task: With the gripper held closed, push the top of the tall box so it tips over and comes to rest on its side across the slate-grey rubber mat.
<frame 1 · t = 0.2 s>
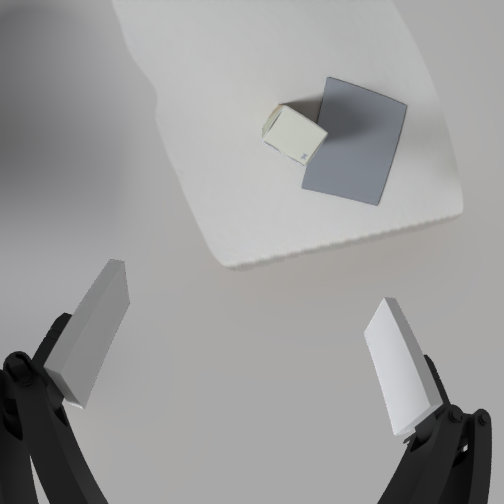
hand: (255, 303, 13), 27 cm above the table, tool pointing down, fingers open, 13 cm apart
box: (285, 125, 34), on the table
mat: (355, 143, 34), on the table
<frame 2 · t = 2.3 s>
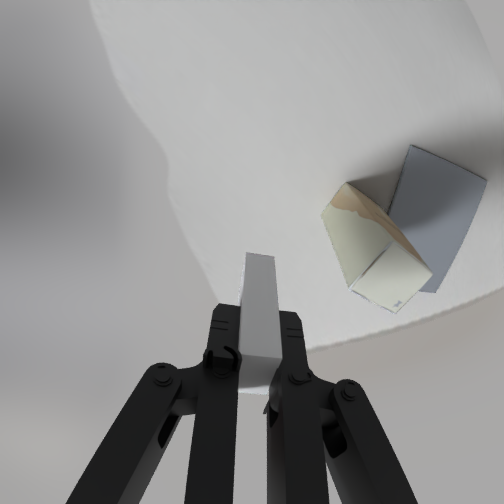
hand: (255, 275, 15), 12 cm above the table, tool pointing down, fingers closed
box: (350, 210, 26), on the table
mat: (428, 230, 26), on the table
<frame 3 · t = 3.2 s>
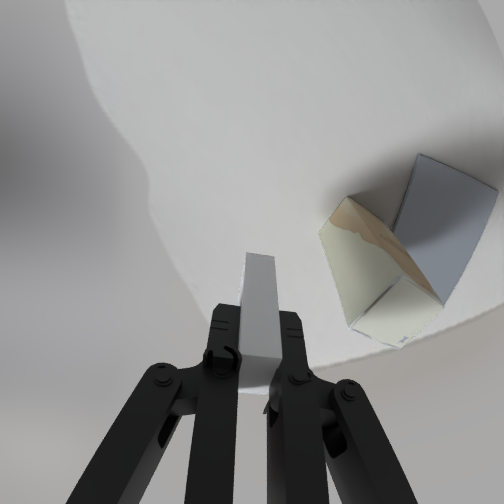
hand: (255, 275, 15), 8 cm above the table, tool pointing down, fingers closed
box: (351, 227, 23), on the table
mat: (435, 246, 24), on the table
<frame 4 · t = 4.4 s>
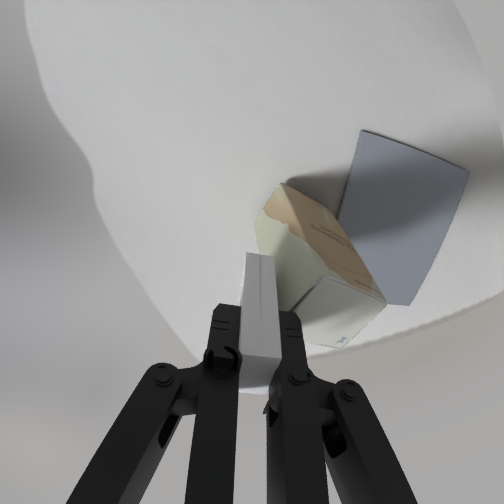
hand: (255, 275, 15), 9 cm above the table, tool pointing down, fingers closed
box: (290, 214, 22), on the table, touching gripper
mat: (394, 233, 23), on the table
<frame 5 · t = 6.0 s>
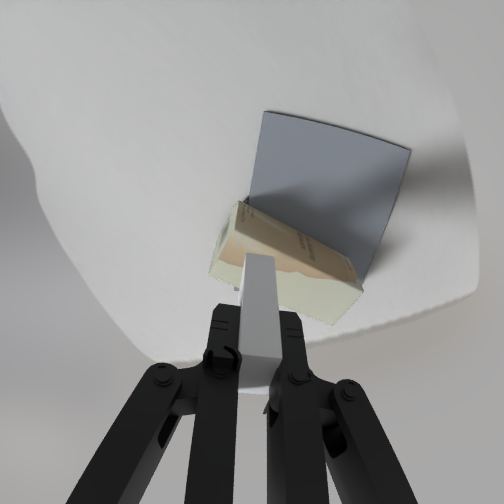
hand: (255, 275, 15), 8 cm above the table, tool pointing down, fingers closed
box: (220, 235, 20), point 3 cm above the table, touching mat
mat: (318, 222, 23), on the table
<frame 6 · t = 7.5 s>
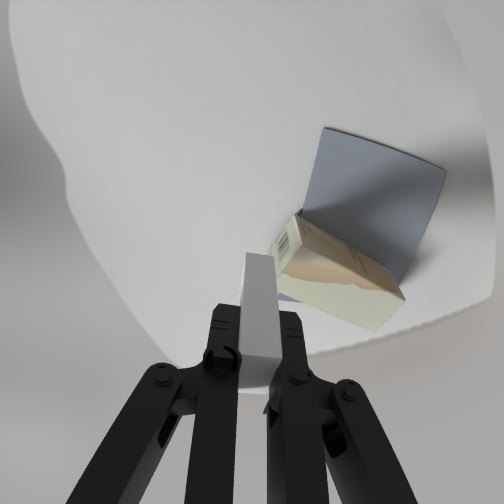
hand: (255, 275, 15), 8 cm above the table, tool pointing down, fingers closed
box: (278, 248, 20), point 3 cm above the table, touching mat
mat: (363, 235, 23), on the table
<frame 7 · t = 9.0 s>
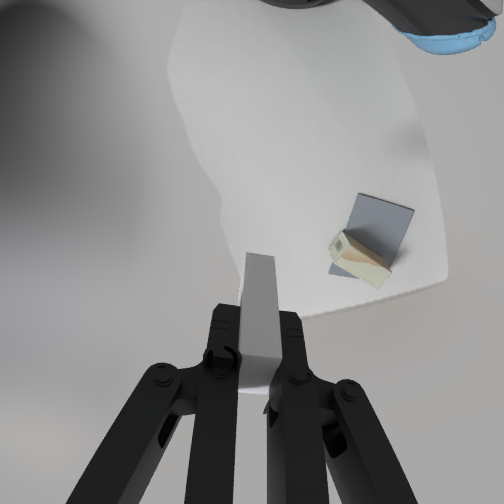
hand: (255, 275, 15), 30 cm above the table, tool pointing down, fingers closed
box: (337, 246, 45), point 3 cm above the table, touching mat
mat: (371, 241, 48), on the table
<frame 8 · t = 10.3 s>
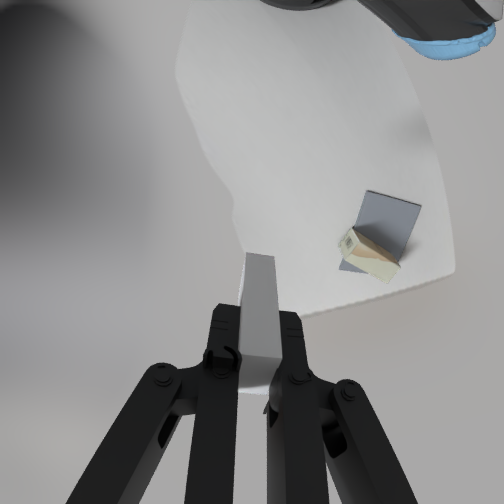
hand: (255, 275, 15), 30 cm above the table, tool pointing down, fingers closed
box: (347, 243, 45), point 3 cm above the table, touching mat
mat: (380, 237, 48), on the table
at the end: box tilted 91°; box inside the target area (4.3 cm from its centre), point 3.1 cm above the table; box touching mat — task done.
